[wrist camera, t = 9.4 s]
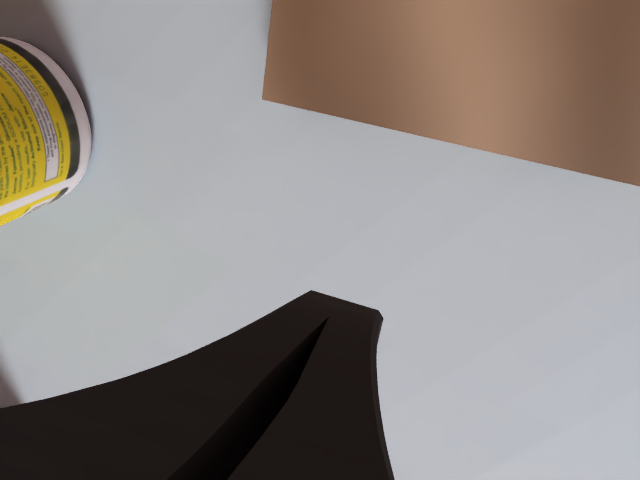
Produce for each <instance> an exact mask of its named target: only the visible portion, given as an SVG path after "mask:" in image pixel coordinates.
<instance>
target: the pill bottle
mask: <svg viewBox="0 0 640 480" xmlns="http://www.w3.org/2000/svg"><path fill="white" fill-rule="evenodd" d="M91 140H92V139H91V129H90V124H89V120H88V116H87V113H86V110H85V107H84V105H83V102H82V100H81V98H80V96H79V94H78V92H77V90H76V88H75V87H74V85H73V83H72V82H71V80H70V79H69V78H68V76H67V75H66V74H65V73H64V71H63V70H62V69H61V68H60V67H59V66H58V65H57V64H56V63H55V62H54V61H53V60H52V59H51V58H50V57H49V56H47V55H46V54H45V53H44V52H42V51H41V50H39V49H37V48H36V47H34V46H32V45H30V44H28V43H26V42H23V41H20V40H17V39H13V38H7V37H0V226H1V225H3V224H5V223H8V222H10V221H12V220H14V219H16V218H18V217H21V216H24V215H26V214H28V213H30V212H32V211H34V210H36V209H38V208H40V207H42V206H44V205H46V204H49V203H51V202H53V201H55V200H57V199H59V198H61V197H62V196H64V195H66V194H67V193H68V192H70V191H71V190H72V189H73V188H74V187H75V186H76V185H77V184H78V183H79V181H80V180H81V178H82V177H83V175H84V173H85V171H86V168H87V166H88V162H89V158H90V153H91Z"/></svg>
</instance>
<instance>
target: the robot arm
mask: <svg viewBox="0 0 640 480" xmlns="http://www.w3.org/2000/svg"><path fill="white" fill-rule="evenodd" d="M382 322H383V317H382V315H381V314H380V312H379V310H375V309H372V308H369V307H365V306H362V305H359V304H355V303H352V302H349V301H345V300H342V299H339V298H335V297H332V296H329V295H325V294H322V293H319V292H316V291H312V290H311V291H309V292H307V293H305V294H303V295H301V296H300V297H298V298H296V299H294V300H292V301H290V302H289V303H287V304H285V305H283V306H282V307H280V308H278V309H276V310H275V311H273V312H271V313H269V314H267V315H266V316H264V317H262V318H260V319H258V320H257V321H255V322H253V323H251V324H249V325H247V326H245V327H243V328H241V329H239V330H238V331H236V332H234V333H232V334H230V335H228V336H226V337H224V338H222V339H219V340H217V341H215V342H213V343H211V344H209V345H206V346H204V347H202V348H200V349H198V350H195V351H193V352H191V353H189V354H187V355H184V356H182V357H179V358H177V359H175V360H172V361H169V362H167V363H164V364H162V365H159V366H156V367H153V368H150V369H148V370H145V371H142V372H139V373H136V374H133V375H130V376H127V377H124V378H121V379H118V380H115V381H111V382H107V383H104V384H100V385H96V386H93V387H89V388H85V389H81V390H78V391H74V392H70V393H67V394H63V395H59V396H56V397H52V398H47V399H43V400H39V401H34V402H29V403H24V404H20V405H15V406H10V407H5V408H0V480H394V476H393V472H392V468H391V464H390V460H389V455H388V451H387V446H386V441H385V436H384V431H383V424H382V418H381V411H380V404H379V396H378V383H377V367H376V353H377V343H378V339H379V335H380V330H381V326H382Z"/></svg>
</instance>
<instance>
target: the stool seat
mask: <svg viewBox="0 0 640 480" xmlns="http://www.w3.org/2000/svg"><path fill="white" fill-rule="evenodd" d="M262 99H263V100H267V101H272V102H276V103H280V104H285V105H289V106H293V107H298V108H302V109H306V110H311V111H315V112H319V113H324V114H328V115H332V116H337V117H341V118H345V119H350V120H354V121H358V122H363V123H367V124H371V125H376V126H380V127H384V128H389V129H393V130H398V131H402V132H406V133H411V134H415V135H419V136H424V137H428V138H432V139H437V140H441V141H445V142H450V143H454V144H458V145H463V146H467V147H471V148H476V149H480V150H484V151H489V152H493V153H497V154H502V155H506V156H510V157H515V158H519V159H523V160H528V161H532V162H537V163H541V164H545V165H550V166H554V167H558V168H563V169H567V170H571V171H576V172H580V173H584V174H589V175H593V176H597V177H602V178H606V179H610V180H615V181H619V182H623V183H628V184H632V185H636V186H640V0H273V2H272V11H271V20H270V30H269V39H268V48H267V58H266V67H265V76H264V86H263V95H262Z"/></svg>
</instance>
